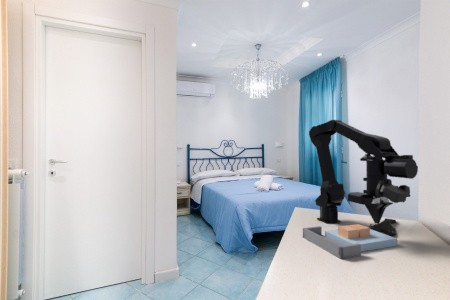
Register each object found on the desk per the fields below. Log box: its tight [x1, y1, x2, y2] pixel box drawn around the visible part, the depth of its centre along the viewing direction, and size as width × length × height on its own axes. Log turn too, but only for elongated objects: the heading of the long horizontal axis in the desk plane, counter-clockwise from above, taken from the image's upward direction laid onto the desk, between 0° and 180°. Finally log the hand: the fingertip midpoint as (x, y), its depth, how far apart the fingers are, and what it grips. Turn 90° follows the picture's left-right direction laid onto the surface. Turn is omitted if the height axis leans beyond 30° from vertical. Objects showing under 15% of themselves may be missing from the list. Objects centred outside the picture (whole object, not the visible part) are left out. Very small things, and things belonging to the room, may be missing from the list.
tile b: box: [337, 225, 359, 239], centre depth 71 cm, size 4×4×2 cm
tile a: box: [348, 223, 370, 237], centre depth 72 cm, size 4×4×2 cm
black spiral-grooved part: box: [367, 217, 397, 236], centre depth 85 cm, size 8×4×25 cm
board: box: [324, 228, 398, 252], centre depth 72 cm, size 12×16×2 cm
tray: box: [302, 225, 362, 260], centre depth 69 cm, size 16×7×3 cm, turn 17°
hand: (376, 223), depth 75 cm, fingers closed
